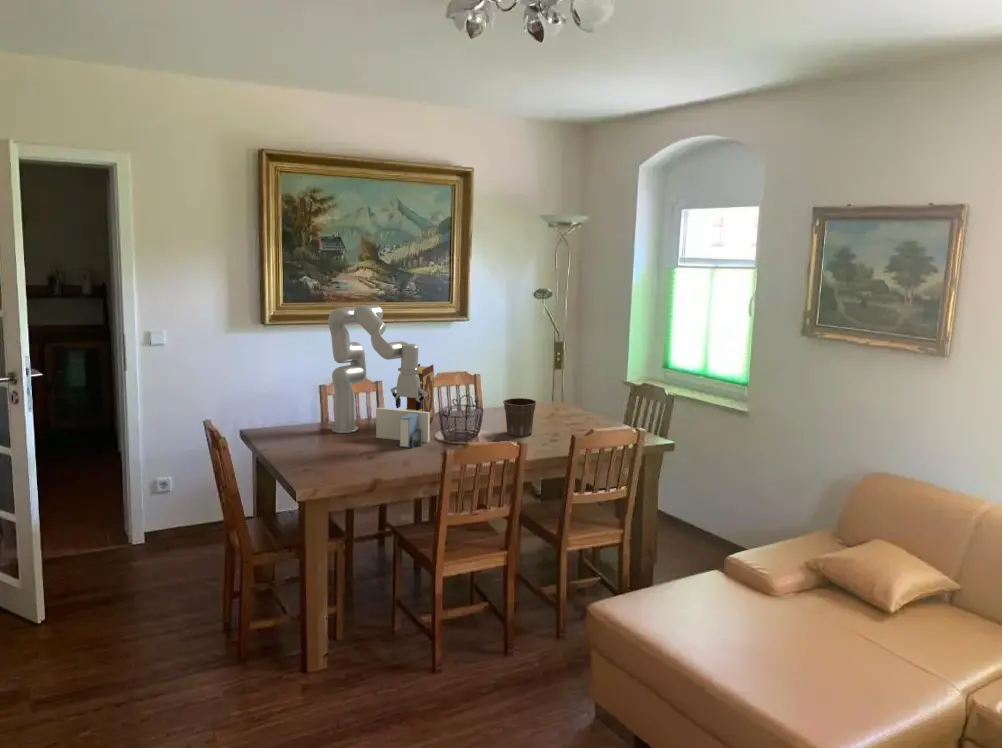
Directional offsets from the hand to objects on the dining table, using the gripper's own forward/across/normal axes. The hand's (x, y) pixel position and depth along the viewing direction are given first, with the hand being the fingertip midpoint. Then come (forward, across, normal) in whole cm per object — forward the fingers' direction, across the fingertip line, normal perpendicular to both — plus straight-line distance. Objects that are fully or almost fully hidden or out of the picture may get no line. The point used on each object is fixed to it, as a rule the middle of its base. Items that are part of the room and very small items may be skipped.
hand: (408, 408), depth 349 cm
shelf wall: (+17, -5, +7) cm, 19 cm away
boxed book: (+16, +1, 0) cm, 16 cm away
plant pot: (+16, +43, +38) cm, 59 cm away
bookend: (+17, +2, 0) cm, 17 cm away
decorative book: (+18, -8, +35) cm, 40 cm away
